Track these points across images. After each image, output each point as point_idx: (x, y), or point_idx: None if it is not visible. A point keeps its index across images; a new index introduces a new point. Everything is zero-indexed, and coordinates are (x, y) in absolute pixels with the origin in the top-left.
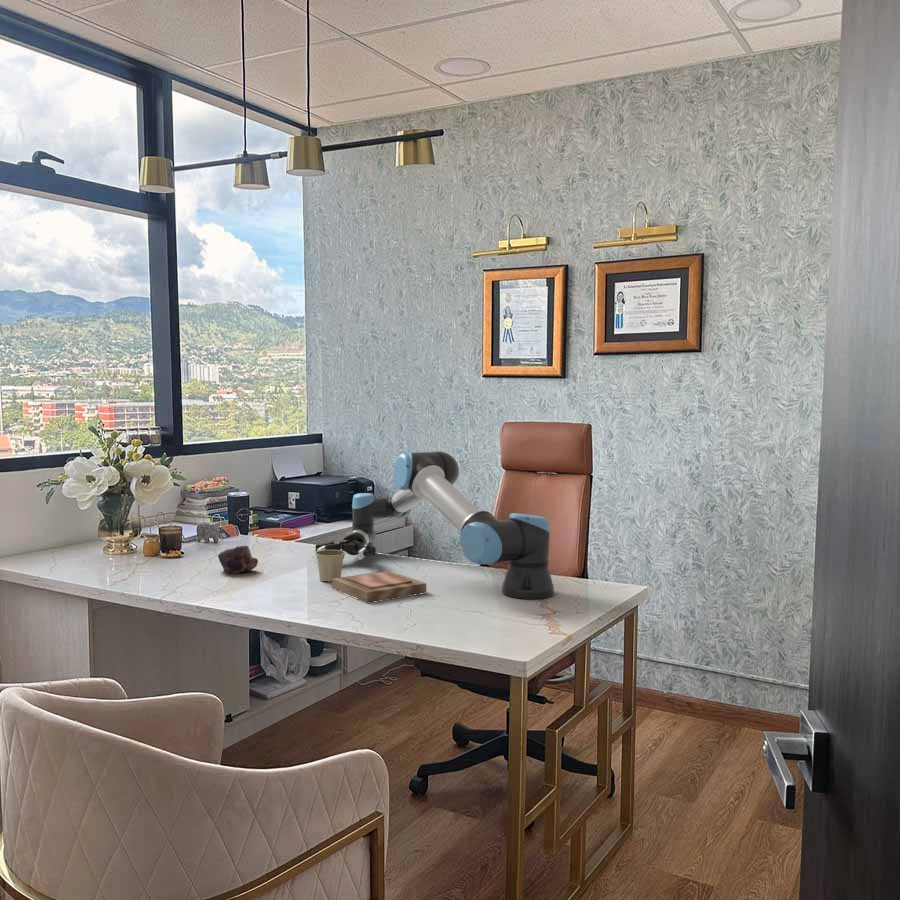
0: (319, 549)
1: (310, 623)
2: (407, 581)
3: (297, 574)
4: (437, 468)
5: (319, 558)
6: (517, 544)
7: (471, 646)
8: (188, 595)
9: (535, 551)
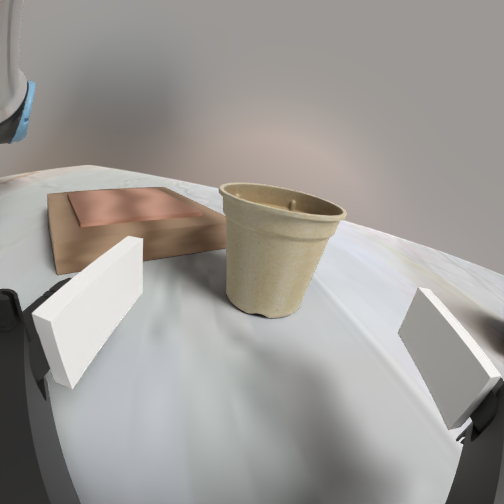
0: (420, 289)
1: None
2: (77, 192)
3: None
4: None
5: (305, 208)
6: None
7: (104, 169)
8: (428, 253)
9: None
